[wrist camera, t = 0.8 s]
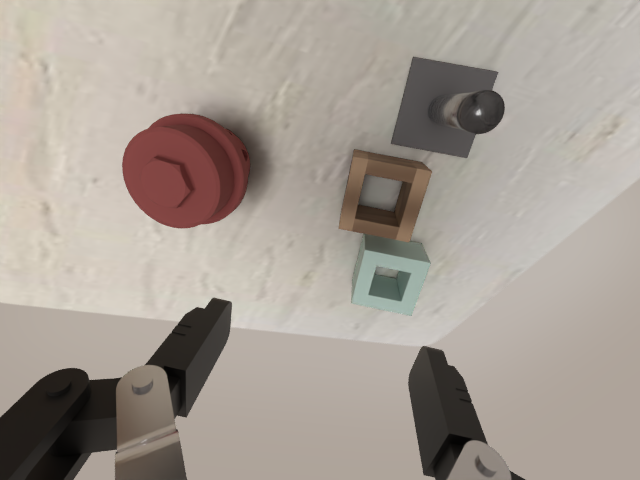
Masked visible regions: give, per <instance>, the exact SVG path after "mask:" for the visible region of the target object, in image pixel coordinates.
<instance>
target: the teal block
mask: <svg viewBox="0 0 640 480" xmlns="http://www.w3.org/2000/svg"><path fill="white" fill-rule="evenodd" d="M430 264H431V263H430V260H429V258H428V256H427V254H426V252H425V249H424V247H423V245H422V243H417V242H412V241H410V242H404V241H399V240H394V239H388V238H383V237H378V236H373V235H368V234H364V235H363V239H362V243H361V247H360V251H359V255H358V259H357V263H356V267H355V271H354V275H353V279H352V297H351V303H352V304H356V305H361V306H366V307H371V308H376V309H380V310H385V311H390V312H395V313H400V314H404V315H409V316H412V313H413V310H414V308H415V305H416V302H417V299H418V297H419V294H420V291H421V288H422V286H423V283H424V280H425V278H426V275H427V272H428V269H429V267H430ZM376 266H379V267H384V268H389V269H394V270H399V272H398V275H397V279H395V278H390V277H385V276H380V275H376V274H374V272H375V269H376Z"/></svg>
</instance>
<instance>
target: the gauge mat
mask: <svg viewBox="0 0 640 480" xmlns="http://www.w3.org/2000/svg"><path fill="white" fill-rule="evenodd" d="M497 74H498V72H496V71H490V70H485V69H479V68H473V67H468V66H462V65H456V64H451V63H445V62H440V61H434V60H428V59H423V58H417V57H413V60H412V63H411V67H410V71H409V75H408V79H407V83H406V87H405V91H404V95H403V99H402V103H401V107H400V110H399V114H398V118H397V122H396V126H395V130H394V134H393V138H392V142H391V144H395V145H400V146H406V147H411V148H416V149H422V150H427V151H432V152H438V153H443V154H448V155H454V156H459V157H464V158H467V157H468V154H469V151H470V149H471V146H472V143H473V140H474V138H475V135H476V134H474V133H470V132H467V131H465V130H461V129H457V128H453V127H449V126H445V125H440V124H436V123H434V122H432V121H431V120H430V118H429V115H428V109H429V106H430V104H431V102H432V101H433V100H434V99H435V98H437V97H439V96H444V95H453V94H462V93H471V92H476V91H482V90H491V91H492V88H493V85H494V83H495V80H496V77H497Z"/></svg>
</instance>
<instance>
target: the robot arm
mask: <svg viewBox="0 0 640 480" xmlns="http://www.w3.org/2000/svg"><path fill="white" fill-rule="evenodd" d="M231 310H232V302H230V301H226V300H222V299H217V298H212V299H211V301H210V302H209V303H208V305H207V306H206V308H205V309H203V308H199V307H196V308H195V309H193V310H192V311H190V312H188V313H187V314H185V316H184V317H183V318H182V319H181V321H180V322H179V323H178V325H177V326H176V327H175V328H174V329H173V331H172V333H171V334H169V336H168V337H167V338H166V339H165V341H164V342H163V343H162V345H161V346H160V347H159V348H158V350H157V351H156V352H155V353H154V355H153V356H152V357H151V358H150V360H149V361H148V362H147V363H146V364H145V365H144V366H140V367H137V368H135V369H132V370H131V371H129V372H128V373H127V374H125V375H124V376H123V377H121V378H115V379H100V380H89V378H88V375H87V373H86V372H85V371H83V370H81V369H77V368H68V369H62V370H58V371H55V372H53V373H51V374H49V375H47V376H45V377H43V378H42V379H40V380H39V381H38V382H37V383H36V384H35V385H34V386H33V387H31V388H30V390H29V391H27V392H26V393H25V394H24V395H23V396H22V397H21V398H20V399H19V400H18V401H17V402H16V403H15V404H14V405H13V406H12V407H11V408H10V409H9V410H8V411H7V412H6V413H4V415H2V416H1V417H0V480H73V479H74V478H75V476H76V475H77V474H78V472H79V471H80V469H81V468H82V466H83V465H84V463H85V462H86V460H87V459H88V457H89V456H90V455H91V453H92V452H100V451H108V450H117V452H116V454H115V480H187V478H186V472H185V466H184V461H183V455H182V449H181V444H180V438H179V434H178V430H176V426H175V420H174V419H175V417H176V416H177V415H178V416H182V417H187V415H188V413H189V412H190V410H191V408H192V406H193V404H194V402H195V400H196V398H197V397H198V395H199V393H200V391H201V389H202V387H203V386H204V384H205V382H206V380H207V378H208V376H209V374H210V372H211V370H212V369H213V367H214V365H215V363H216V361H217V359H218V357H219V356H220V354H221V352H222V350H223V348H224V346H225V344H226V342H227V340H228V337H229V332H230V324H231ZM408 383H409V384H408V385H409V392H410V398H411V404H412V410H413V416H414V421H415V427H416V433H417V439H418V445H419V451H420V456H421V462H422V468H423V474H424V475H426V476H431V477H435V479H436V480H525V479H523V478H521V477H520V476H518V475H516V474H514V473H513V472H511V471H510V470H509V468H508V466H507V464H506V462H505V461H504V459H503V458H502V457H501V456H500V454H499V453H498V452H497V451H495V450H494V449H493V448H492V447H490V446H489V445H488V444H487V441H486V438H485V436H484V433H483V430H482V428H481V425H480V422H479V420H478V417H477V414H476V411H475V409H474V406H473V404H472V403H471V398H470V395H469V393H468V390H467V387H466V385H465V382H464V379H463V377H462V376H461V375H460V374H459V372H458V371H457V370H456V368H455V367H454V366H450V365H448V364H447V361H446V357H445V355H444V352H443V351H442V350H439V349H435V348H430V347H426V346H422V348H421V349H420V351H419V353H418V356H417V358H416V360H415V362H414V364H413V367H412V369H411V371H410V374H409V382H408Z"/></svg>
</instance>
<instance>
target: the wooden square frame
mask: <svg viewBox="0 0 640 480" xmlns="http://www.w3.org/2000/svg"><path fill="white" fill-rule="evenodd" d="M431 173H432V171H431V170H430V169H429V168H428V167H427V166H425V165H424V164H423V163H422V162H418V161H413V160H407V159H402V158H397V157H391V156H386V155H381V154H376V153H370V152H365V151H360V150H355V149H354V153H353V158H352V162H351V167H350V172H349V177H348V182H347V187H346V191H345V196H344V201H343V206H342V211H341V216H340V222H339V229H343V230H348V231H353V232H358V233H363V234H368V235H373V236H378V237H383V238H388V239H394V240H399V241H404V242H410V239H411V236H412V233H413V229H414V226H415V223H416V220H417V217H418V214H419V211H420V208H421V205H422V201H423V198H424V195H425V192H426V189H427V186H428V183H429V180H430V177H431ZM365 174H367V175H372V176H377V177H383V178H388V179H393V180H398V181H403V183H402V186H401V190H400V193H399V197H398V200H397V204H396V207H395V211H394V212H393V211H388V210H383V209H377V208H372V207H367V206H362V205H358V202H359V198H360V193H361V189H362V185H363V180H364V176H365Z"/></svg>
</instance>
